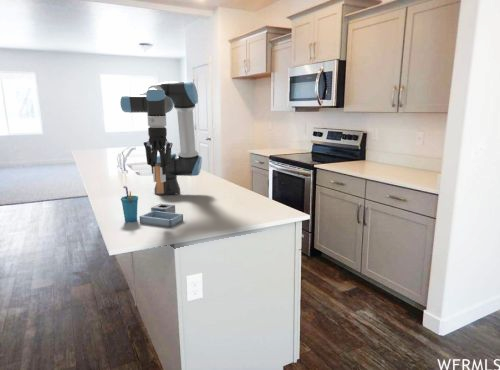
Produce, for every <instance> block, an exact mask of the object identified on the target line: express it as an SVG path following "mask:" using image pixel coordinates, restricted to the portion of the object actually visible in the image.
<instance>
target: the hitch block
mask: <svg viewBox="0 0 500 370" xmlns="http://www.w3.org/2000/svg"><path fill="white" fill-rule="evenodd" d="M151 211H161V212H169V213H176V204H167V203H159V204H157V205H154V206H151V207H150V212H151Z"/></svg>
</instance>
